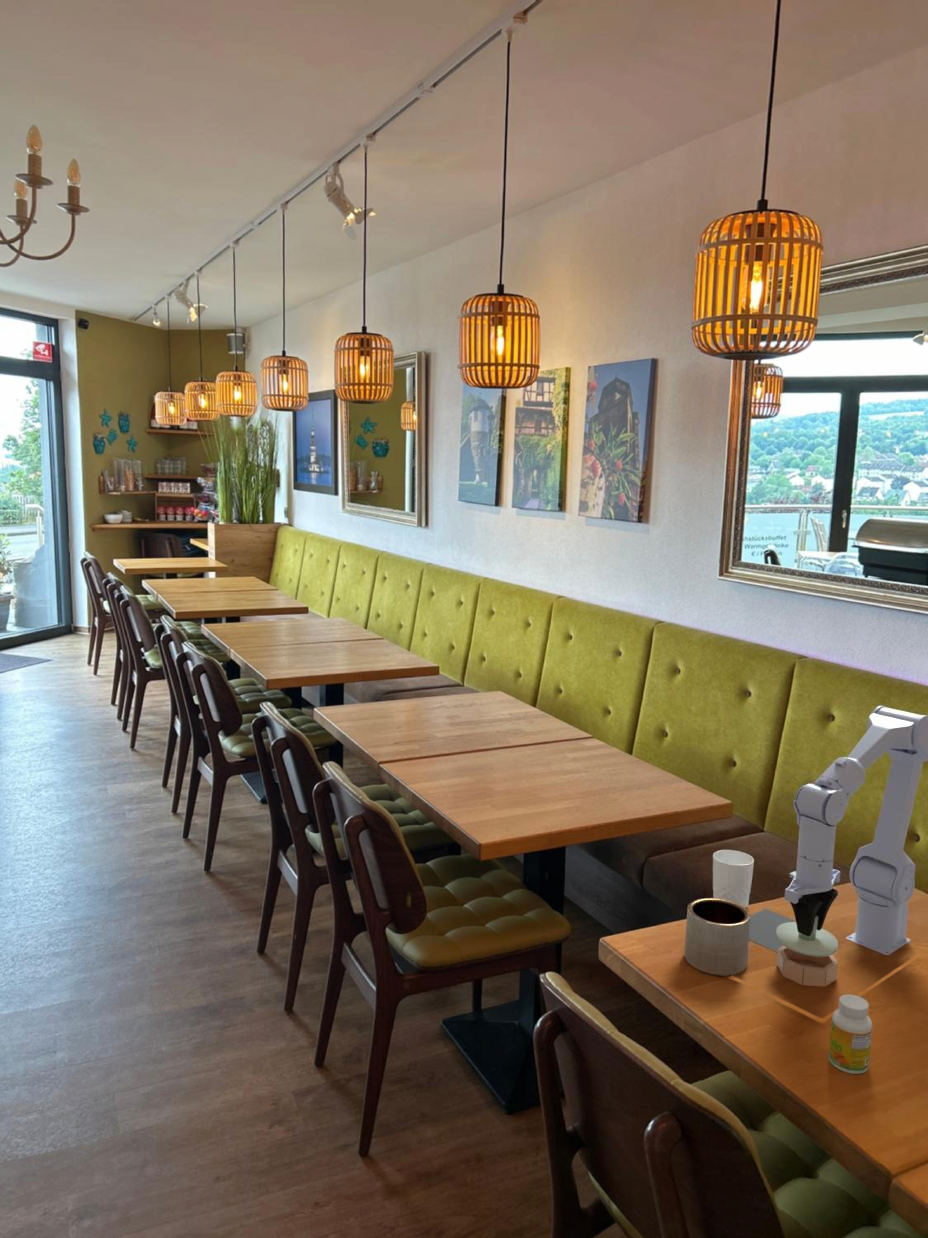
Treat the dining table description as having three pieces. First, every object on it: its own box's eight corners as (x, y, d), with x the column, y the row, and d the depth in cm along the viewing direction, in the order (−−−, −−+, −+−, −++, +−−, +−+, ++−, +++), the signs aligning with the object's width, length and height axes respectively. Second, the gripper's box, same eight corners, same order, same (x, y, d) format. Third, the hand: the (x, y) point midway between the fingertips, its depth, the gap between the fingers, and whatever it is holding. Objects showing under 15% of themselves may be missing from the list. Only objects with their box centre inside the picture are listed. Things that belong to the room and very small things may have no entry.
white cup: (752, 915, 178) (756, 867, 177) (711, 911, 180) (714, 863, 178) (748, 898, 186) (751, 852, 185) (709, 894, 188) (711, 848, 186)
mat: (765, 911, 180) (765, 908, 180) (831, 938, 170) (831, 935, 169) (723, 931, 171) (724, 928, 171) (791, 962, 161) (791, 958, 161)
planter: (724, 943, 167) (727, 894, 166) (760, 973, 157) (764, 921, 155) (672, 951, 164) (675, 901, 162) (706, 982, 153) (709, 929, 152)
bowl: (796, 956, 163) (797, 938, 162) (844, 977, 156) (845, 958, 155) (768, 972, 157) (769, 953, 156) (816, 995, 150) (818, 975, 150)
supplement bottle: (821, 1053, 134) (826, 992, 133) (856, 1052, 135) (861, 991, 134) (839, 1076, 129) (845, 1013, 128) (875, 1075, 130) (881, 1012, 128)
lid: (798, 921, 163) (801, 896, 162) (849, 946, 155) (852, 920, 154) (763, 935, 157) (766, 909, 156) (815, 962, 149) (818, 935, 148)
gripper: (815, 838, 161) (810, 910, 163) (770, 858, 152) (765, 934, 154) (854, 851, 156) (847, 925, 158) (809, 872, 146) (803, 950, 148)
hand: (809, 931), depth 155 cm, fingers closed on lid, 3 cm apart
